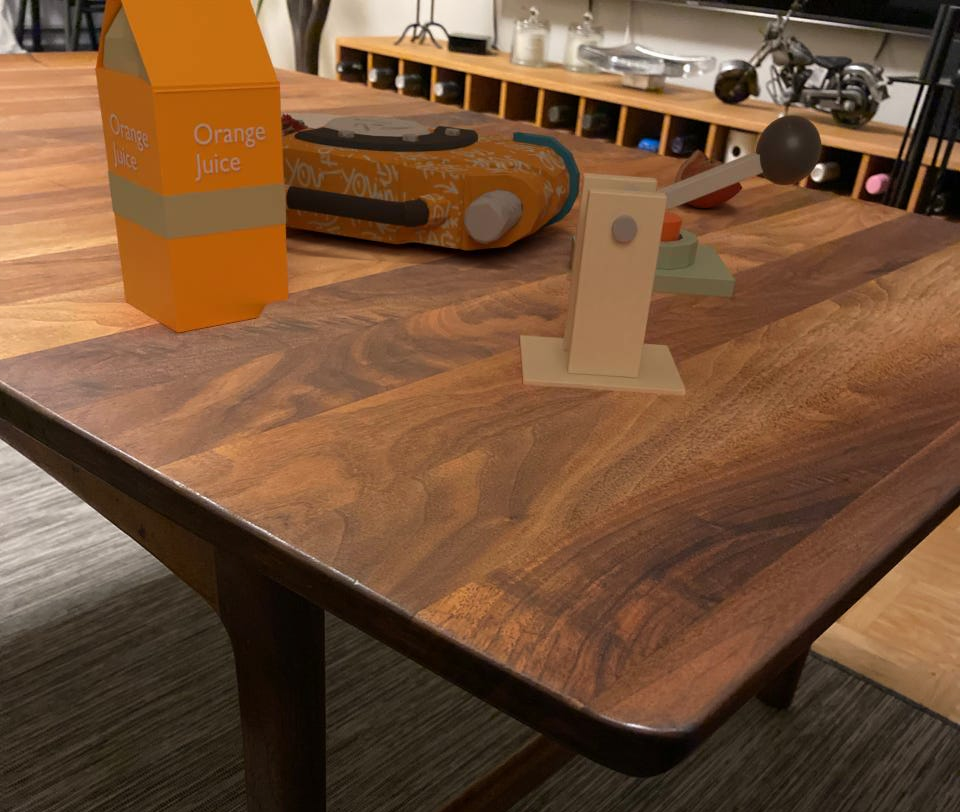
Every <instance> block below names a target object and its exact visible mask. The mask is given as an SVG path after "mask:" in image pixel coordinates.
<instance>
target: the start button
mask: <svg viewBox="0 0 960 812" xmlns="http://www.w3.org/2000/svg"><path fill="white" fill-rule="evenodd" d="M682 221H683V218H682V217H681V216H680V215H679V214H676V213H673V212H669V211H667V210H666V211H665V215H664V221H663V227H662V233H661V240H660V241H661V242H669V241H678V240H679V234H680V228H681V227H682ZM681 229H682V228H681Z"/></svg>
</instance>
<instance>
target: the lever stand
mask: <svg viewBox="0 0 960 812" xmlns="http://www.w3.org/2000/svg"><path fill="white" fill-rule="evenodd" d="M658 183H659V182H658V180H657V179H656V177H647V176H646V177H643V176H632V175H617V174H604V173H589V172H583V173H582V177H581V188H580V195H579V203H578V212H577V221H576V231H575V236H576V238H575V246H574V255H573V263H572V269H571V273H570V282H569V291H568V297H567V298H568V299H567V308H566V315H565V324H564V333H563V337H552V336H550V337H549V336H536V335H523V334H522V335H519V352H520V353H519V354H520V365H521V367H520V368H521V378H522V385H524V386H537V387H538V386H540V387H555V388H568V389H583V390H598V391H615V392H630V393H641V394H643V393H644V394H658V395H661V394H662V395H672V396H686V394H687V388H686V386H685V384H684V382H683V380H682V377H681V375H680V372H679V369H678V367H677V365H676V363H675V360H674V358H673V356H672V353H671V350H670V347H669V345H667V344H654V343H645V337H646V331H647V325H648V318H649V314H650V313H649V312H650V306H651V301H652V293H653V292H652V289H653V283H654V276H655V270H656V264H657V258H658V252H659V246H660V240H661V233H662V227H663V221H664V215H665V209H666V203H667V196H666V195H665V194H664V193H653V192H655V191H657V190H658V185H659V184H658ZM633 184H634V185H635V186H636V188H637V190H638V191H626V190H620V189H623V188H625V187H628V186H630V185H633Z"/></svg>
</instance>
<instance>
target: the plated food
mask: <svg viewBox="0 0 960 812" xmlns="http://www.w3.org/2000/svg"><path fill="white" fill-rule="evenodd" d="M348 116H349V115H343V114H342V115H341V114H329V113H311V112H308V113H307V112H306V113H305V112H281V125H282V137H284V136H287V135H290V134H292V133H295V132H298V131H301V130H304V129H307V128H311V129H316V128H319V127H322V126H325V125H326V124H327V123H328V122H329V121H330V120H332V119H333V118H341V117H348Z"/></svg>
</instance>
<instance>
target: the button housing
mask: <svg viewBox="0 0 960 812" xmlns="http://www.w3.org/2000/svg"><path fill="white" fill-rule="evenodd" d="M575 238H576V235H572V238H571V247H570V254H569V255H570V256H569V264H570V270H572V263H573V255H574V246H575ZM735 284H736V278H735V277H734V276H733V274H732V272H731V271H730V270H729V268H728V267H727V265H726V264H725V262H724V261H723V260H722V258H721V256H720V255H719V253H718V251H717V250H716V249H715V247H714V246H713V245H710V244H709V245H708V244H699V238H698V237H697V235H696V234H695V233H694V232H691V231H689V230H686V229H683V228H680V234H679V240H678V241H669V242H661V241H660V246H659V252H658V258H657V264H656V270H655V276H654V283H653V289H652V293H666V294H681V295H682V294H683V295H693V296H695V295H696V296H707V297H709V296H711V297H723V298H733V295H734V290H735V286H736V285H735Z"/></svg>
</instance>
